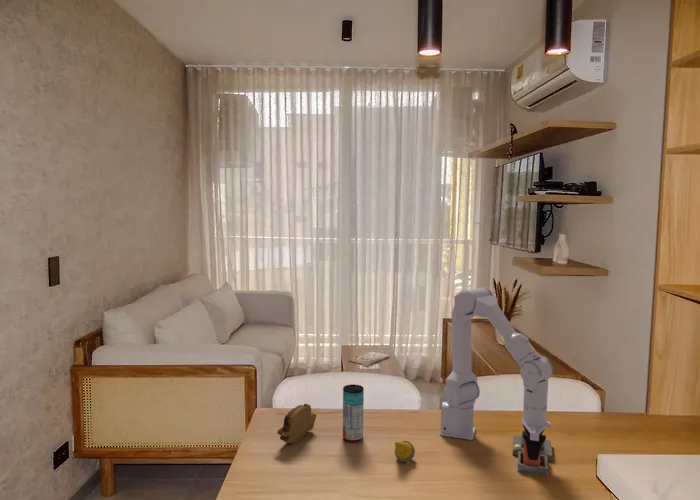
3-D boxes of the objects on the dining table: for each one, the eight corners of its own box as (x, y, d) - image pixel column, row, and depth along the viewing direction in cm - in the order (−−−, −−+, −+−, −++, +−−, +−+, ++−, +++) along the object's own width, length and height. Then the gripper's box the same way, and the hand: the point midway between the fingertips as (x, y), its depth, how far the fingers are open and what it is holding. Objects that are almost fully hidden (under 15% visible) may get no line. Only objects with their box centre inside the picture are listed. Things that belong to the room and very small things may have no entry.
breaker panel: (512, 454, 140) (512, 446, 140) (513, 440, 149) (513, 432, 148) (552, 461, 137) (552, 452, 137) (550, 445, 145) (550, 438, 145)
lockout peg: (523, 464, 133) (524, 438, 132) (523, 457, 136) (524, 432, 136) (539, 467, 131) (541, 441, 131) (539, 460, 135) (540, 434, 134)
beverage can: (357, 432, 153) (357, 383, 152) (366, 440, 148) (367, 390, 146) (339, 435, 151) (339, 386, 149) (348, 444, 145) (348, 393, 144)
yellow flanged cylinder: (420, 462, 137) (406, 448, 130) (402, 468, 138) (387, 455, 131) (416, 443, 140) (402, 429, 134) (398, 449, 142) (384, 435, 135)
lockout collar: (517, 471, 132) (517, 464, 131) (517, 458, 138) (518, 451, 138) (547, 476, 129) (547, 469, 129) (546, 462, 136) (546, 455, 136)
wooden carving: (304, 426, 157) (304, 394, 156) (317, 429, 155) (317, 397, 154) (274, 450, 142) (273, 415, 141) (288, 453, 140) (288, 418, 139)
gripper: (553, 418, 124) (550, 471, 125) (550, 396, 138) (548, 445, 139) (522, 414, 126) (520, 466, 128) (522, 393, 140) (520, 440, 141)
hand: (532, 455), depth 134 cm, fingers closed on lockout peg, 4 cm apart
